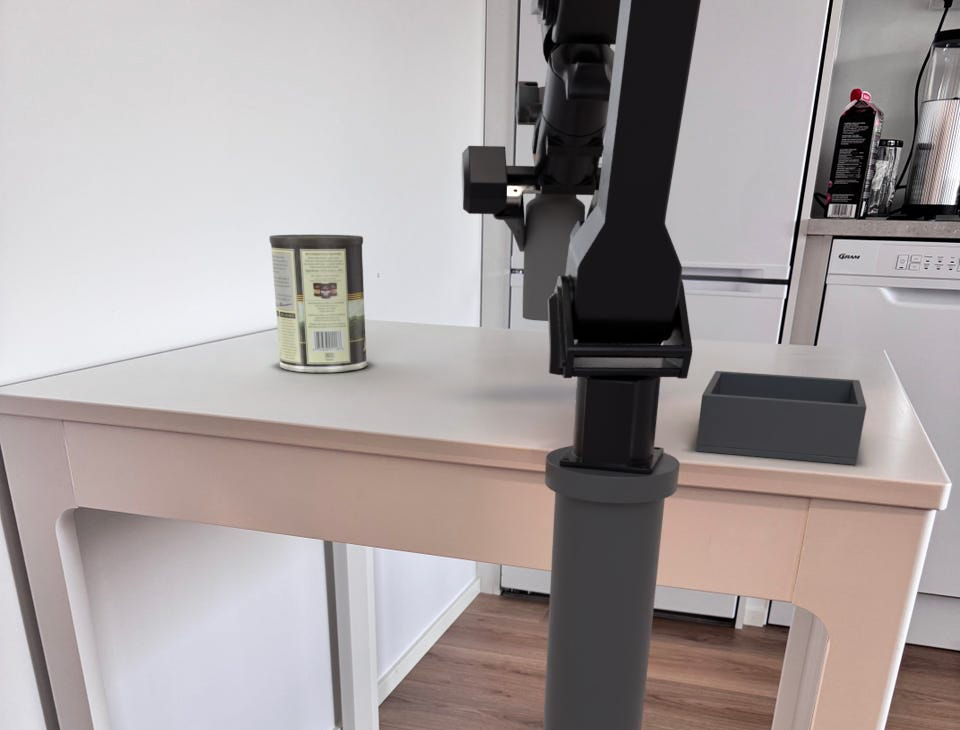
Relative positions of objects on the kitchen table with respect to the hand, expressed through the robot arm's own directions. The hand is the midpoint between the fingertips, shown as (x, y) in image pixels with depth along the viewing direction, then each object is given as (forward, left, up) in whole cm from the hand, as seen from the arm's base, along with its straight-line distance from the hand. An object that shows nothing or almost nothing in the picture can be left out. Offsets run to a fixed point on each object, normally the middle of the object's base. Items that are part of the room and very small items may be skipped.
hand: (552, 248), depth 95 cm
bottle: (-1, -1, -7) cm, 7 cm away
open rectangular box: (-17, -24, -14) cm, 32 cm away
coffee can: (+3, +28, -14) cm, 31 cm away
